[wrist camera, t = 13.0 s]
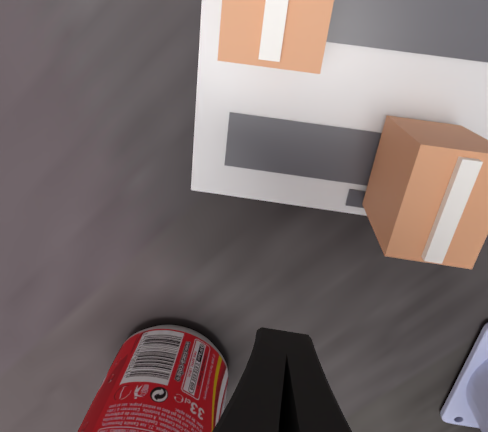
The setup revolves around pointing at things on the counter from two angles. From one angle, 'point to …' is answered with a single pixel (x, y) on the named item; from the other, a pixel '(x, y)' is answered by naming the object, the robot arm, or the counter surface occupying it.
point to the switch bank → (336, 100)
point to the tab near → (275, 33)
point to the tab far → (429, 192)
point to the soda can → (161, 385)
